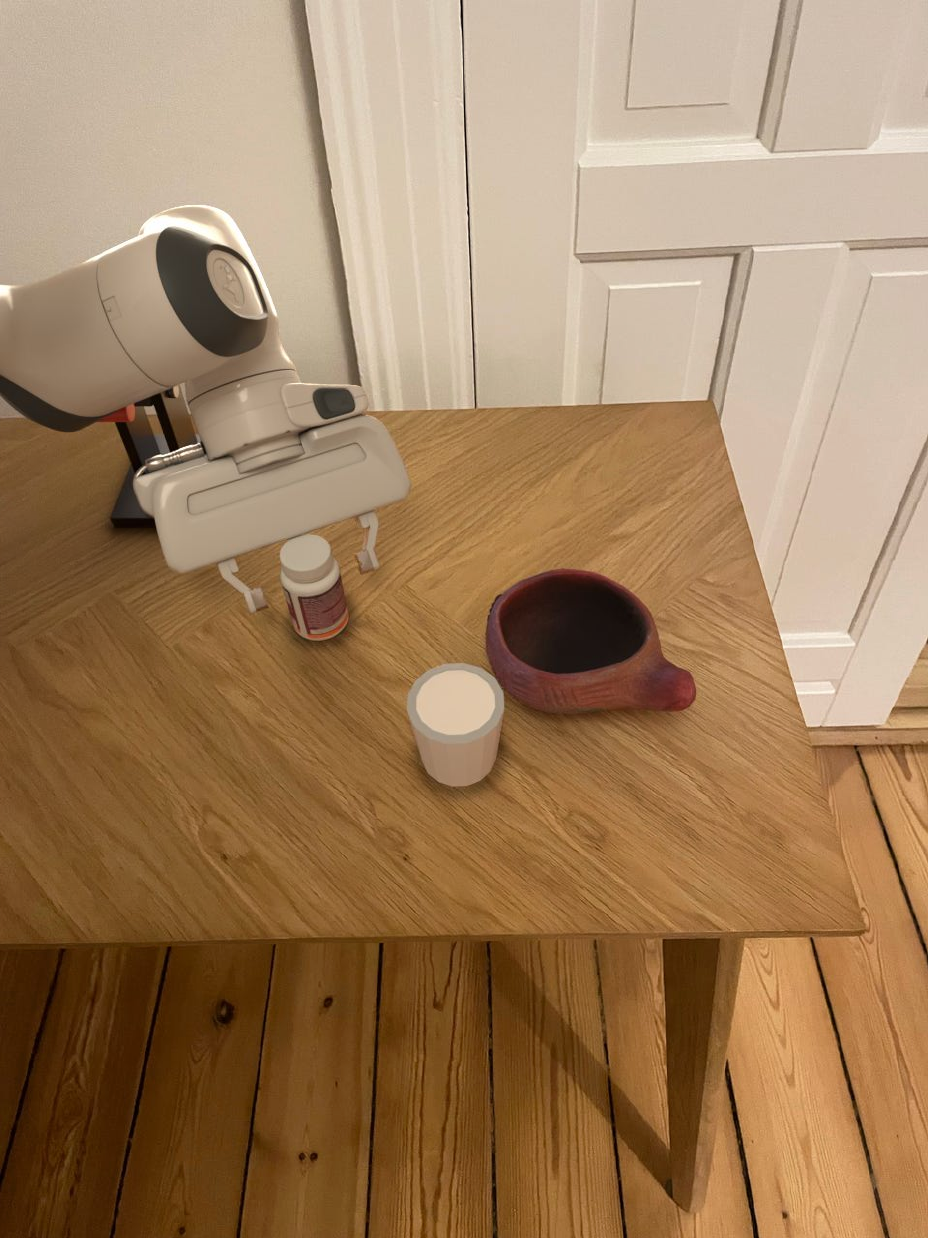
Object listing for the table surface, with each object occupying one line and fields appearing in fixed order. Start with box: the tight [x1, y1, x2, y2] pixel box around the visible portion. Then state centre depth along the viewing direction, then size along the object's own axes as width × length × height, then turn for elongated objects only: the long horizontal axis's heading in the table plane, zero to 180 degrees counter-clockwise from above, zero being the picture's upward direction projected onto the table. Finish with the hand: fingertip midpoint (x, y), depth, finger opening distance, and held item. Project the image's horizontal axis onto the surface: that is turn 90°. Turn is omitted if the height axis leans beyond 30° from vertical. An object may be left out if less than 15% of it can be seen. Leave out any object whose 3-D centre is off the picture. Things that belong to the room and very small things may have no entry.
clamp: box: [109, 384, 209, 528], centre depth 86 cm, size 12×9×13 cm
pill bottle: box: [279, 533, 349, 642], centre depth 76 cm, size 5×5×8 cm
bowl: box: [485, 568, 697, 715], centre depth 72 cm, size 16×13×8 cm
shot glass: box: [406, 662, 505, 788], centre depth 68 cm, size 7×7×7 cm
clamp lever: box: [96, 397, 154, 423], centre depth 78 cm, size 12×6×2 cm, turn 178°
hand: (315, 591), depth 76 cm, fingers open, 8 cm apart
